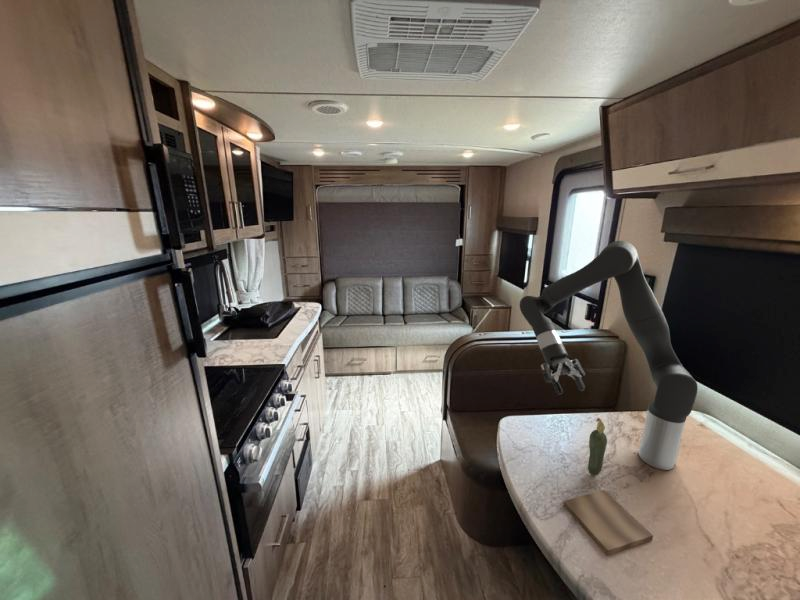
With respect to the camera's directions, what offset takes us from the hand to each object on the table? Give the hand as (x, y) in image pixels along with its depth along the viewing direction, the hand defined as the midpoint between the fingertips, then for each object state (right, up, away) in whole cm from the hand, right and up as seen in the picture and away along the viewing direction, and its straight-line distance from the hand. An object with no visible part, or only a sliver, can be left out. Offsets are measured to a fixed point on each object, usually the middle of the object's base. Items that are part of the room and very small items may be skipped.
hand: (571, 392), depth 102 cm
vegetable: (+3, -25, -5) cm, 26 cm away
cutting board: (-2, -28, -20) cm, 35 cm away
